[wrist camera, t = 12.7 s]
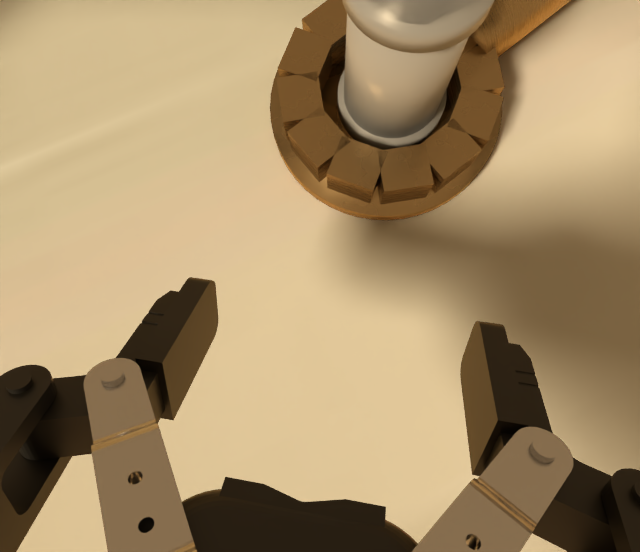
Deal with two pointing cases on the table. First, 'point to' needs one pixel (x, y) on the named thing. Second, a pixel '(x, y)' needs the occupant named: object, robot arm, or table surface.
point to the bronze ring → (404, 162)
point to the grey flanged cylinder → (401, 66)
